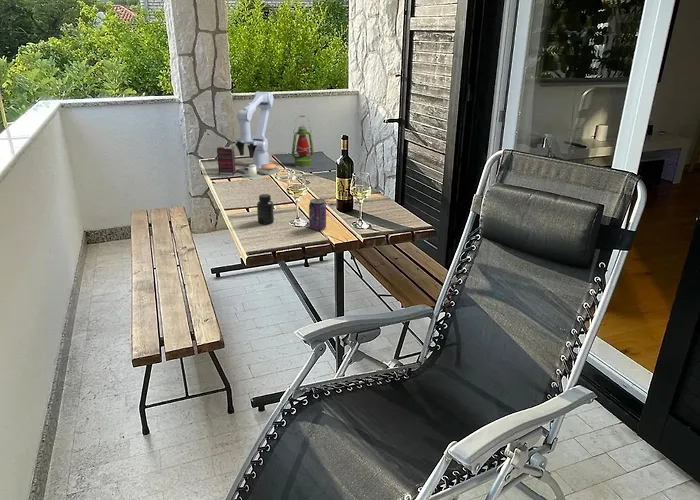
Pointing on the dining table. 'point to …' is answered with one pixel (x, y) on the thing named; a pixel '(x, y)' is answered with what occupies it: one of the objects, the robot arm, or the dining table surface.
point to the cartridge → (252, 170)
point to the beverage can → (317, 214)
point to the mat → (252, 177)
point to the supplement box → (226, 161)
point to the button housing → (268, 171)
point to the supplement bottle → (265, 210)
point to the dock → (243, 171)
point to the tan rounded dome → (268, 166)
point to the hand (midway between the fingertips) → (246, 156)
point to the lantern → (302, 146)
